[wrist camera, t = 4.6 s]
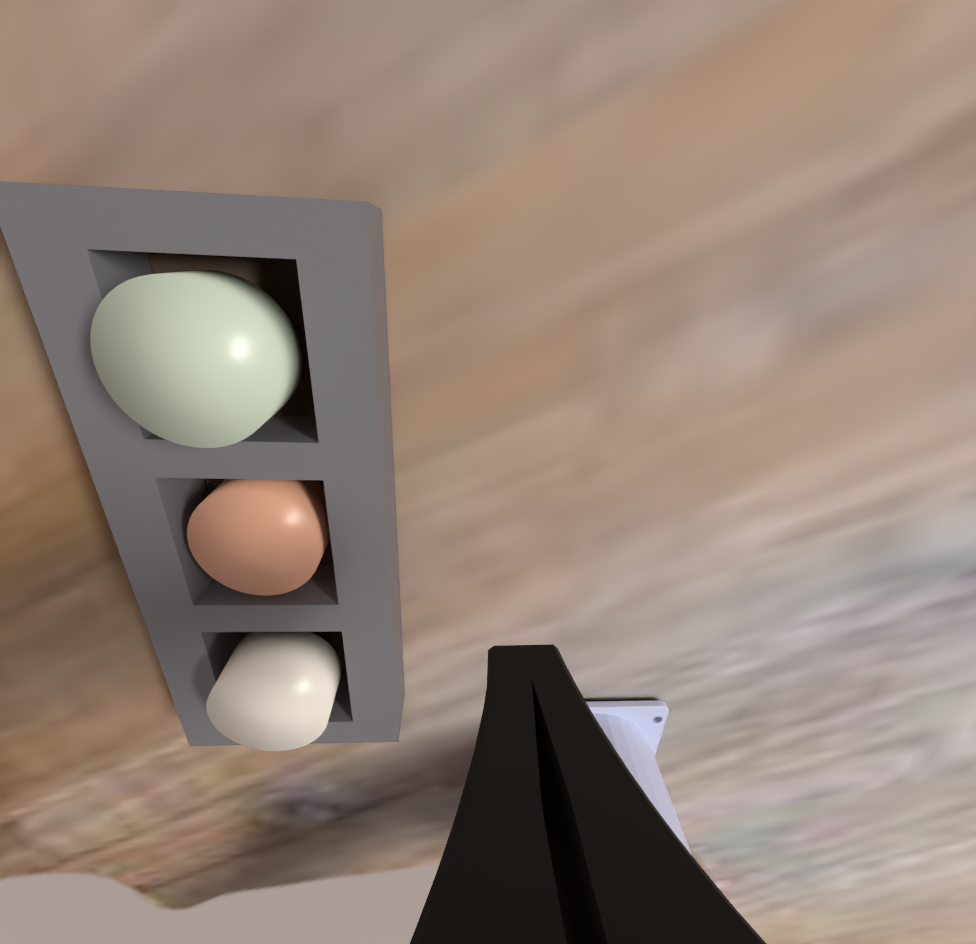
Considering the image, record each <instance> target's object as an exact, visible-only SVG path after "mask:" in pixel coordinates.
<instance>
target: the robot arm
mask: <svg viewBox="0 0 976 944" xmlns="http://www.w3.org/2000/svg"><path fill="white" fill-rule="evenodd" d="M668 712H669V710H668V707H667V705H666V703H665V702H663V701H658V700H657V701H595V702H586V701H585V700H584V698H583V696H582V694H581V693H580V691H579V689H578V687H577V685H576V684H575V682H574V680H573V678H572V676H571V674H570V672H569V670H568V669H567V667H566V665H565V663H564V661H563V659H562V657H561V654H560V652H559V650H558V648H556V647H555V646H554V645H514V646H493V647H492V648H491V649H489V650H488V673H487V690H486V696H485V703H484V709H483V714H482V718H481V723H480V728H479V732H478V737H477V741H476V746H475V750H474V754H473V758H472V762H471V765H470V769H469V772H468V776H467V779H466V783H465V786H464V790H463V793H462V797H461V801H460V804H459V807H458V810H457V814H456V817H455V820H454V823H453V826H452V829H451V832H450V835H449V838H448V841H447V844H446V847H445V850H444V853H443V856H442V859H441V862H440V865H439V867H438V871H437V873H436V876H435V879H434V881H433V884H432V887H431V889H430V892H429V895H428V897H427V900H426V903H425V905H424V908H423V911H422V914H421V916H420V919H419V921H418V924H417V927H416V929H415V932H414V935H413V937H412V939H411V942H410V944H766V943H765V942H764V941H763V939H762V938H761V937H760V936H759V935H758V934H757V933H756V932H755V930H754V929H753V928H752V927H751V926H750V925H749V924H748V923H747V921H746V920H745V919H744V918H743V917H742V916H741V915H740V914H739V912H738V911H737V910H736V909H735V908H734V907H733V905H732V904H731V903H730V902H729V901H728V899H727V898H726V897H725V896H724V894H723V893H722V892H721V891H720V890H719V888H718V887H717V886H716V885H715V884H714V882H713V881H712V880H711V879H710V878H709V876H708V875H707V874H706V873H705V871H704V870H703V869H702V868H701V867H700V865H699V864H698V863H697V861H696V860H695V859H694V858H693V856H692V854H691V851H690V849H689V846H688V844H687V841H686V838H685V836H684V833H683V830H682V828H681V825H680V823H679V820H678V817H677V815H676V812H675V809H674V807H673V804H672V802H671V799H670V796H669V794H668V791H667V788H666V786H665V783H664V781H663V778H662V775H661V773H660V770H659V767H658V765H657V762H656V760H655V753H656V750H657V747H658V744H659V741H660V738H661V734H662V731H663V728H664V725H665V722H666V719H667V716H668Z"/></svg>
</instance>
